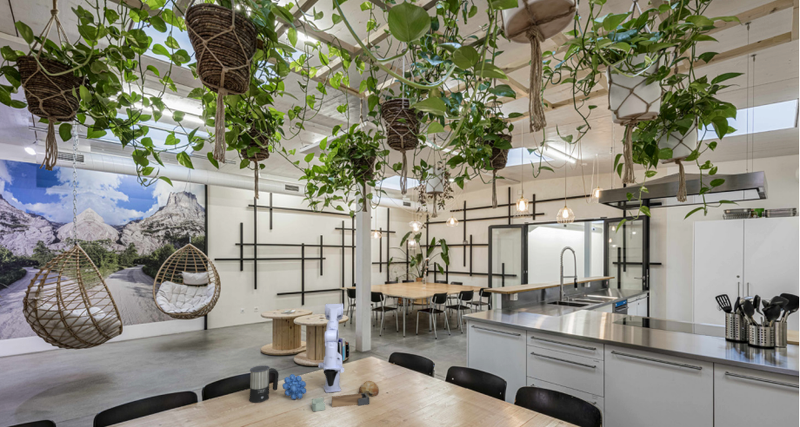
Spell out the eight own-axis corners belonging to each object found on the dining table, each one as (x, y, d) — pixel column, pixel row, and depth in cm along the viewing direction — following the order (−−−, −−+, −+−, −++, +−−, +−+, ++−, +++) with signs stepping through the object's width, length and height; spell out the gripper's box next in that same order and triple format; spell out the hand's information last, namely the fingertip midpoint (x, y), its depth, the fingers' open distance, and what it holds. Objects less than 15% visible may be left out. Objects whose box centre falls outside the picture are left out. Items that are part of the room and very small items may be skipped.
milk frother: (256, 404, 176) (257, 372, 178) (236, 397, 185) (238, 366, 186) (280, 395, 188) (281, 364, 189) (261, 388, 197) (262, 359, 198)
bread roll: (359, 404, 186) (361, 392, 183) (357, 388, 195) (358, 376, 192) (379, 402, 188) (380, 390, 186) (375, 386, 197) (377, 374, 195)
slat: (331, 405, 177) (331, 396, 177) (360, 402, 180) (360, 393, 181) (332, 408, 173) (332, 399, 174) (361, 404, 177) (362, 396, 177)
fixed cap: (355, 400, 182) (355, 394, 182) (366, 399, 183) (366, 392, 184) (358, 405, 175) (358, 399, 176) (369, 404, 177) (369, 397, 177)
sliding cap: (311, 405, 175) (311, 398, 175) (323, 404, 177) (323, 397, 177) (312, 411, 169) (313, 404, 169) (325, 409, 170) (325, 402, 171)
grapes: (279, 403, 178) (280, 377, 179) (283, 397, 184) (283, 372, 186) (304, 402, 179) (305, 376, 180) (307, 397, 185) (307, 372, 187)
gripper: (314, 355, 177) (313, 385, 176) (337, 360, 169) (336, 391, 168) (324, 352, 183) (324, 380, 182) (347, 356, 175) (346, 386, 174)
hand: (330, 385), depth 175 cm, fingers closed
